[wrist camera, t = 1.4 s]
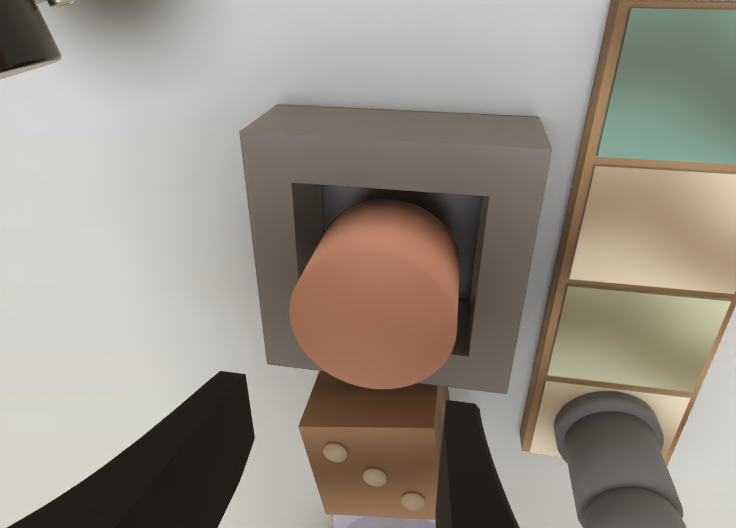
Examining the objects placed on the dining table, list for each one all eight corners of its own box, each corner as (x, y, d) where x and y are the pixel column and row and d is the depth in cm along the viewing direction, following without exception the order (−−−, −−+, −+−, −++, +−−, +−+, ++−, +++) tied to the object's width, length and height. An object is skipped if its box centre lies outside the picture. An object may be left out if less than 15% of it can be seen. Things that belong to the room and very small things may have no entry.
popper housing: (502, 334, 22) (506, 394, 19) (294, 312, 23) (267, 364, 20) (538, 117, 17) (551, 149, 14) (277, 104, 19) (239, 131, 16)
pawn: (643, 466, 22) (697, 629, 17) (546, 453, 23) (568, 605, 18) (670, 397, 20) (741, 556, 15) (563, 385, 21) (594, 533, 16)
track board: (658, 451, 23) (666, 474, 22) (520, 433, 24) (521, 454, 23) (841, 2, 14) (868, 5, 13) (611, -1, 15) (621, 1, 14)
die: (452, 424, 25) (447, 524, 20) (350, 423, 26) (324, 517, 22) (441, 339, 23) (433, 431, 18) (330, 342, 24) (297, 430, 19)
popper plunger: (453, 328, 19) (449, 398, 16) (322, 314, 19) (294, 378, 16) (466, 204, 16) (464, 258, 13) (316, 193, 17) (283, 242, 14)
